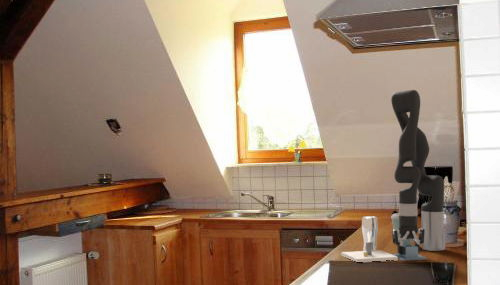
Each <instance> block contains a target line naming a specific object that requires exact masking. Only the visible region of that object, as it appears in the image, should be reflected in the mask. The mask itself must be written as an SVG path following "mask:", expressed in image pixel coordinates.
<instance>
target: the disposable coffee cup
mask: <svg viewBox="0 0 500 285" xmlns="http://www.w3.org/2000/svg"><path fill="white" fill-rule="evenodd" d="M390 219H391V221H392V222H391V223H392V228H393V230H398V229H399V212H397V213H393V214H392V215H391V217H390ZM400 235H401V234H400V233H398V240H399V237H400ZM412 242H413V240H412V239H410V238H409V239H406V240H405V241H404V242H403V245H410V244H411V245H412Z"/></svg>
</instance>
